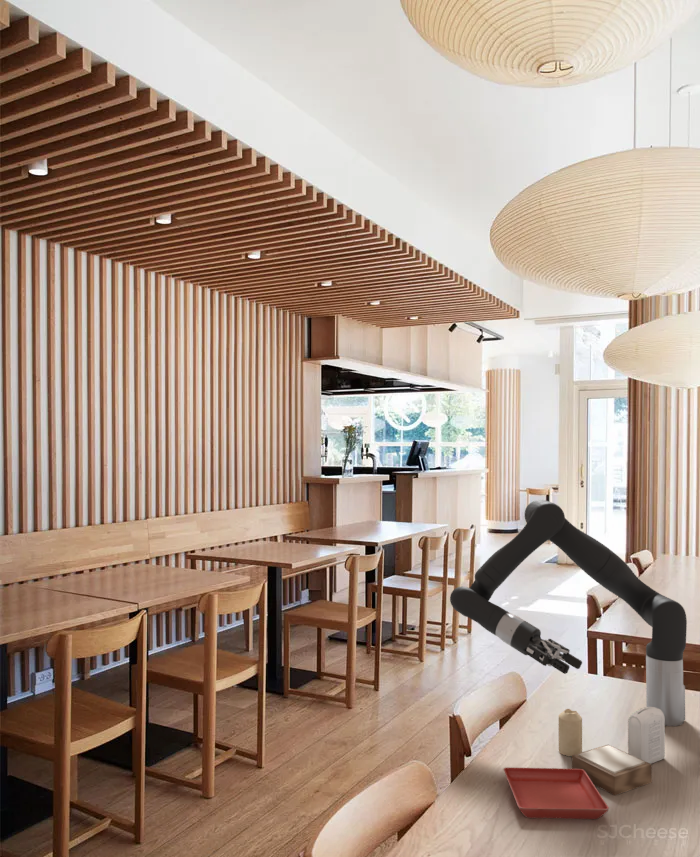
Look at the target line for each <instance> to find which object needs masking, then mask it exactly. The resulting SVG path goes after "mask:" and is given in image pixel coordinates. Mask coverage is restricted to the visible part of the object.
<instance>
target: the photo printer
mask: <svg viewBox="0 0 700 857" xmlns="http://www.w3.org/2000/svg"><path fill="white" fill-rule="evenodd" d="M628 717H629V718H628V720H627V721H628V722H627V730H628V731H627V732H628V733H627V749H628V750H627V753H628V754H630V755H632V756H635V757H637V758H639V759H641V760H643V761H645V762H648V763H650V764H653V763H656V762H659V761H661V760H663V759H665V756H666V755H665V754H666V752H665V750H666V749H665V748H666V744H665V742H666V741H665V740H666V739H665V736H666V735H665V732H666V731H665V730H666V729H665V726H666V725H665V718H664V714H663V712H662V711H661V710H660V709H658V708H655V707H646V706H645V707H642V708H639V709H638V710H635V711H634V712H633V713H632V714H630V716H628Z"/></svg>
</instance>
